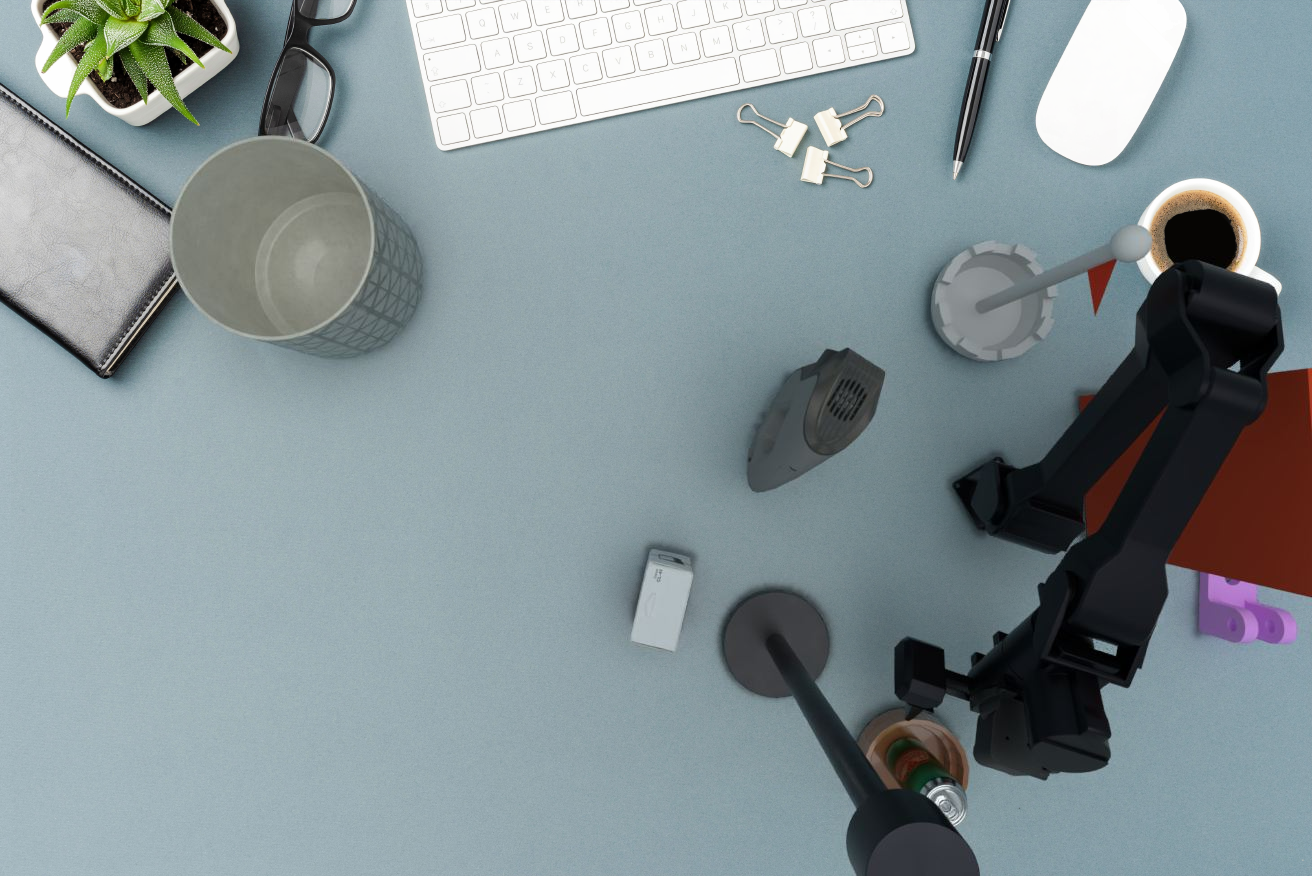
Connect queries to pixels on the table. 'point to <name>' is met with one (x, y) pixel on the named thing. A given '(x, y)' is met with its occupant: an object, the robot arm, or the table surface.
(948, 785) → the soda can
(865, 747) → the bowl
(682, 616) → the ink box
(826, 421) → the handheld device
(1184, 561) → the file binder
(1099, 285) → the flag stand
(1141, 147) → the table surface
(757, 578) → the table surface
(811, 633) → the desk lamp
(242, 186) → the planter
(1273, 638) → the bracket
